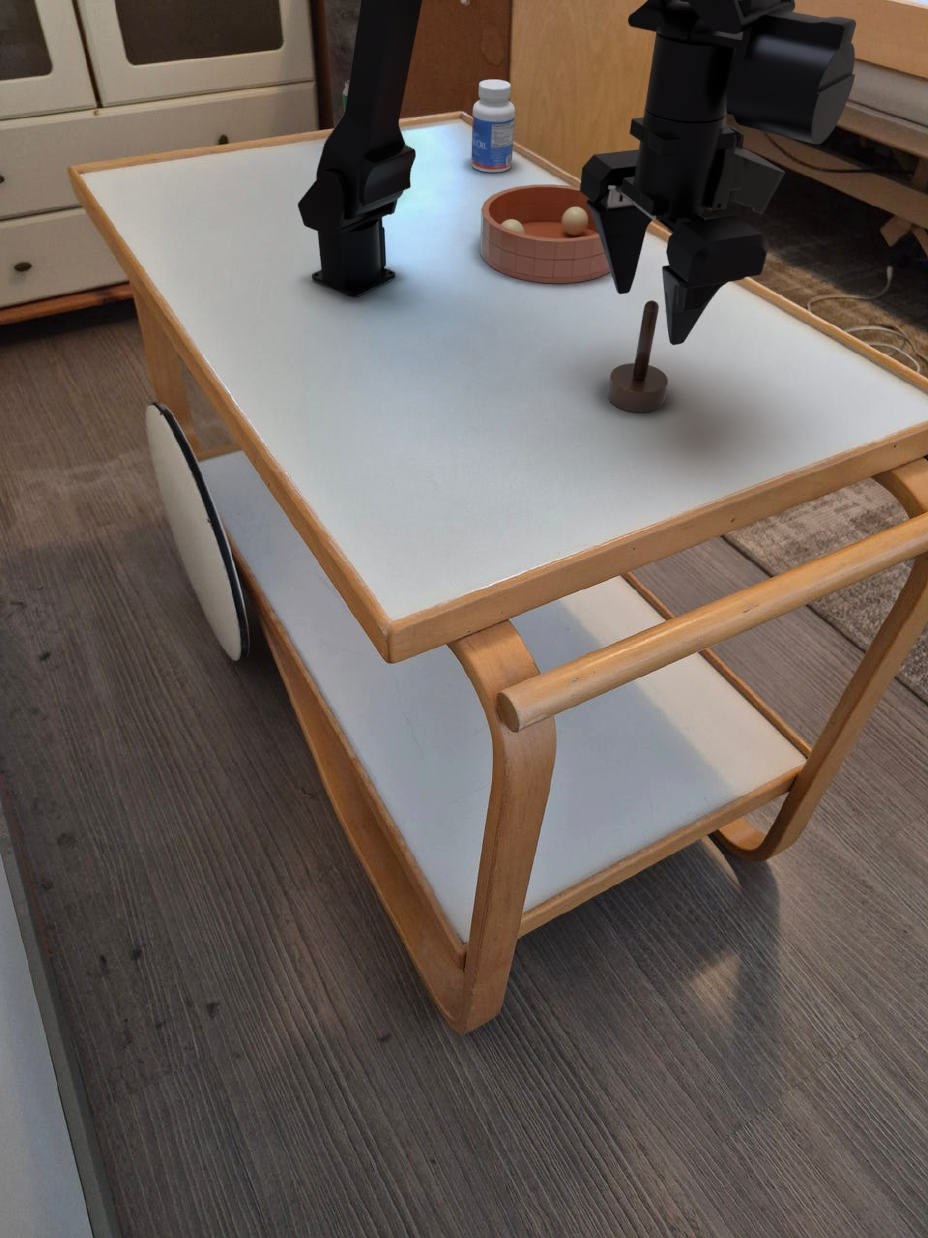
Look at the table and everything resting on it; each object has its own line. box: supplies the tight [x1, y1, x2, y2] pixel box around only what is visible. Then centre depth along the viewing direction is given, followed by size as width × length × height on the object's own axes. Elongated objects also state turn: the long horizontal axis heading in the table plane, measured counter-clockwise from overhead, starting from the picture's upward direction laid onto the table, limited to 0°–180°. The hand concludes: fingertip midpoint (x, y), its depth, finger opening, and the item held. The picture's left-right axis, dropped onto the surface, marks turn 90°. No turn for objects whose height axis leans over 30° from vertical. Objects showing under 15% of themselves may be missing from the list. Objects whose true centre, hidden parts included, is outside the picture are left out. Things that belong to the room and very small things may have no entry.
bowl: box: [479, 183, 611, 284], centre depth 100 cm, size 16×16×4 cm
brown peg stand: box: [607, 299, 669, 414], centre depth 77 cm, size 5×5×9 cm
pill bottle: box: [470, 78, 516, 173], centre depth 116 cm, size 6×5×10 cm
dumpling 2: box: [562, 207, 588, 236], centre depth 102 cm, size 3×3×3 cm
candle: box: [323, 0, 361, 129], centre depth 117 cm, size 8×7×20 cm
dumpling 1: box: [501, 219, 525, 234], centre depth 99 cm, size 3×3×3 cm
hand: (648, 317), depth 75 cm, fingers open, 9 cm apart
